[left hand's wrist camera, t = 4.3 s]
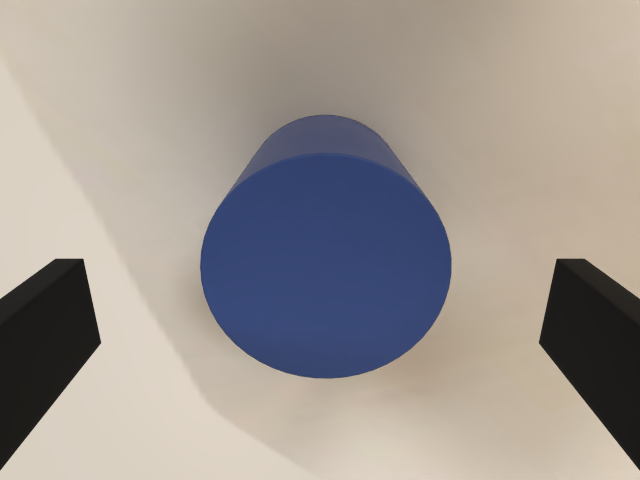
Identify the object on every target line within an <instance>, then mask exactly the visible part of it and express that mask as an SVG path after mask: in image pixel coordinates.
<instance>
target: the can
mask: <svg viewBox="0 0 640 480" xmlns="http://www.w3.org/2000/svg"><path fill="white" fill-rule="evenodd" d="M200 270H201V281H202V286H203V290H204V294H205V297H206V300H207V303H208V305H209V308H210V310H211V312H212V314H213V316H214V317H215V319H216V321H217V323H218V324H219V325H220V327H221V328H222V329H223V331H224V332H225V334H226V335H227V336H228V337H229V338H230V339H231V340H232V341H233V342H234V343H235V344H236V345H237V346H238V347H240V348H241V349H242V350H243V351H244V352H246V353H247V354H248V355H250V356H252V357H253V358H255V359H256V360H258V361H259V362H261V363H263V364H266V365H268V366H270V367H272V368H274V369H277V370H280V371H283V372H285V373H289V374H293V375H297V376H302V377H310V378H342V377H349V376H354V375H359V374H362V373H366V372H369V371H372V370H375V369H377V368H379V367H382V366H384V365H386V364H388V363H390V362H392V361H393V360H395V359H397V358H399V357H400V356H402V355H403V354H404V353H406V352H407V351H408V350H410V349H411V348H412V347H413V346H414V345H415V344H416V343H417V342H419V341H420V340H421V339H422V338H423V336H424V335H425V334H426V333H427V332H428V330H429V329H430V328H431V326H432V325H433V323H434V322H435V320H436V319H437V317H438V315H439V313H440V311H441V309H442V307H443V305H444V302H445V299H446V296H447V293H448V289H449V285H450V278H451V252H450V245H449V241H448V238H447V234H446V231H445V228H444V226H443V224H442V222H441V219H440V217H439V215H438V213H437V212H436V210H435V209H434V207H433V206H432V204H431V203H430V201H429V200H428V199H427V197H426V196H425V194H424V193H423V192H422V190H421V189H420V188H419V186H418V185H417V184H416V182H415V181H414V180H413V178H412V177H411V176H410V174H409V173H408V171H407V170H406V169H405V167H404V166H403V165H402V163H401V162H400V161H399V159H398V158H397V157H396V155H395V154H394V152H393V151H392V150H391V148H390V147H389V146H388V145H387V143H386V142H385V141H384V140H383V139H382V138H381V137H380V136H379V135H378V134H376V133H375V132H374V131H373V130H371V129H370V128H368V127H367V126H365V125H363V124H361V123H359V122H357V121H355V120H352V119H348V118H345V117H340V116H334V115H317V116H309V117H305V118H301V119H298V120H296V121H293V122H291V123H289V124H287V125H285V126H283V127H282V128H280V129H279V130H277V131H276V132H275V133H273V134H272V135H271V136H270V137H269V138H268V139H267V140H266V141H265V142H264V143H263V145H262V146H261V147H260V149H259V150H258V151H257V153H256V154H255V156H254V157H253V158H252V160H251V161H250V163H249V164H248V166H247V167H246V168H245V170H244V171H243V173H242V174H241V176H240V177H239V178H238V180H237V181H236V183H235V184H234V186H233V187H232V188H231V190H230V191H229V193H228V194H227V196H226V197H225V198H224V200H223V201H222V203H221V204H220V206H219V207H218V208H217V210H216V212H215V214H214V216H213V217H212V219H211V221H210V223H209V226H208V228H207V231H206V234H205V236H204V241H203V245H202V250H201V263H200Z"/></svg>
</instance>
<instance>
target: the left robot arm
mask: <svg viewBox="0 0 640 480" xmlns="http://www.w3.org/2000/svg"><path fill="white" fill-rule="evenodd" d="M100 344H101V340H100V335H99V331H98V326H97V321H96V316H95V312H94V307H93V302H92V298H91V293H90V288H89V284H88V279H87V274H86V269H85V265H84V260H83V259H55V260H53V261H52V262H50V263H49V264H48V265H46V266H45V267H44V268H42V269H41V270H39V271H38V272H37V273H35V274H34V275H33V276H31V277H30V278H28V279H27V280H26V281H24V282H23V283H22V284H20V285H19V286H17V287H16V288H15V289H13V290H12V291H11V292H9V293H8V294H7V295H5V296H4V297H2V298H1V299H0V470H1V469H2V468H3V466H4V465H5V464H6V463H7V461H8V460H9V459H10V457H11V456H12V455H13V454H14V452H15V451H16V450H17V449H18V447H19V446H20V445H21V443H22V442H23V441H24V440H25V438H26V437H27V436H28V435H29V433H30V432H31V431H32V430H33V428H34V427H35V426H36V425H37V423H38V422H39V421H40V420H41V418H42V417H43V416H44V414H45V413H46V412H47V411H48V409H49V408H50V407H51V406H52V404H53V403H54V402H55V401H56V399H57V398H58V397H59V396H60V394H61V393H62V392H63V390H64V389H65V388H66V387H67V385H68V384H69V383H70V382H71V380H72V379H73V378H74V377H75V375H76V374H77V373H78V372H79V370H80V369H81V368H82V366H83V365H84V364H85V363H86V361H87V360H88V359H89V358H90V356H91V355H92V354H93V353H94V351H95V350H96V349H97V348H98V346H99V345H100ZM539 344H540V345H541V346H542V348H543V349H544V350H545V351H546V353H547V354H548V355H549V356H550V358H551V359H552V360H553V361H554V363H555V364H556V365H557V366H558V368H559V369H560V370H561V372H562V373H563V374H564V375H565V377H566V378H567V379H568V380H569V382H570V383H571V384H572V385H573V387H574V388H575V389H576V390H577V392H578V393H579V394H580V396H581V397H582V398H583V399H584V401H585V402H586V403H587V404H588V406H589V407H590V408H591V409H592V411H593V412H594V413H595V415H596V416H597V417H598V418H599V420H600V421H601V422H602V423H603V425H604V426H605V427H606V428H607V430H608V431H609V432H610V433H611V435H612V436H613V437H614V439H615V440H616V441H617V442H618V444H619V445H620V446H621V447H622V449H623V450H624V451H625V452H626V454H627V455H628V456H629V457H630V459H631V460H632V461H633V463H634V464H635V465H636V466H637V468H638V469H639V470H640V299H639V298H638V297H636V296H635V295H634V294H632V293H631V292H629V291H628V290H627V289H625V288H624V287H623V286H621V285H620V284H618V283H617V282H616V281H614V280H613V279H612V278H610V277H609V276H607V275H606V274H605V273H603V272H602V271H601V270H599V269H598V268H596V267H595V266H594V265H592V264H591V263H590V262H588V261H587V260H585V259H557V260H556V265H555V269H554V274H553V279H552V284H551V288H550V293H549V298H548V302H547V307H546V312H545V316H544V321H543V326H542V331H541V335H540V340H539Z"/></svg>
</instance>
